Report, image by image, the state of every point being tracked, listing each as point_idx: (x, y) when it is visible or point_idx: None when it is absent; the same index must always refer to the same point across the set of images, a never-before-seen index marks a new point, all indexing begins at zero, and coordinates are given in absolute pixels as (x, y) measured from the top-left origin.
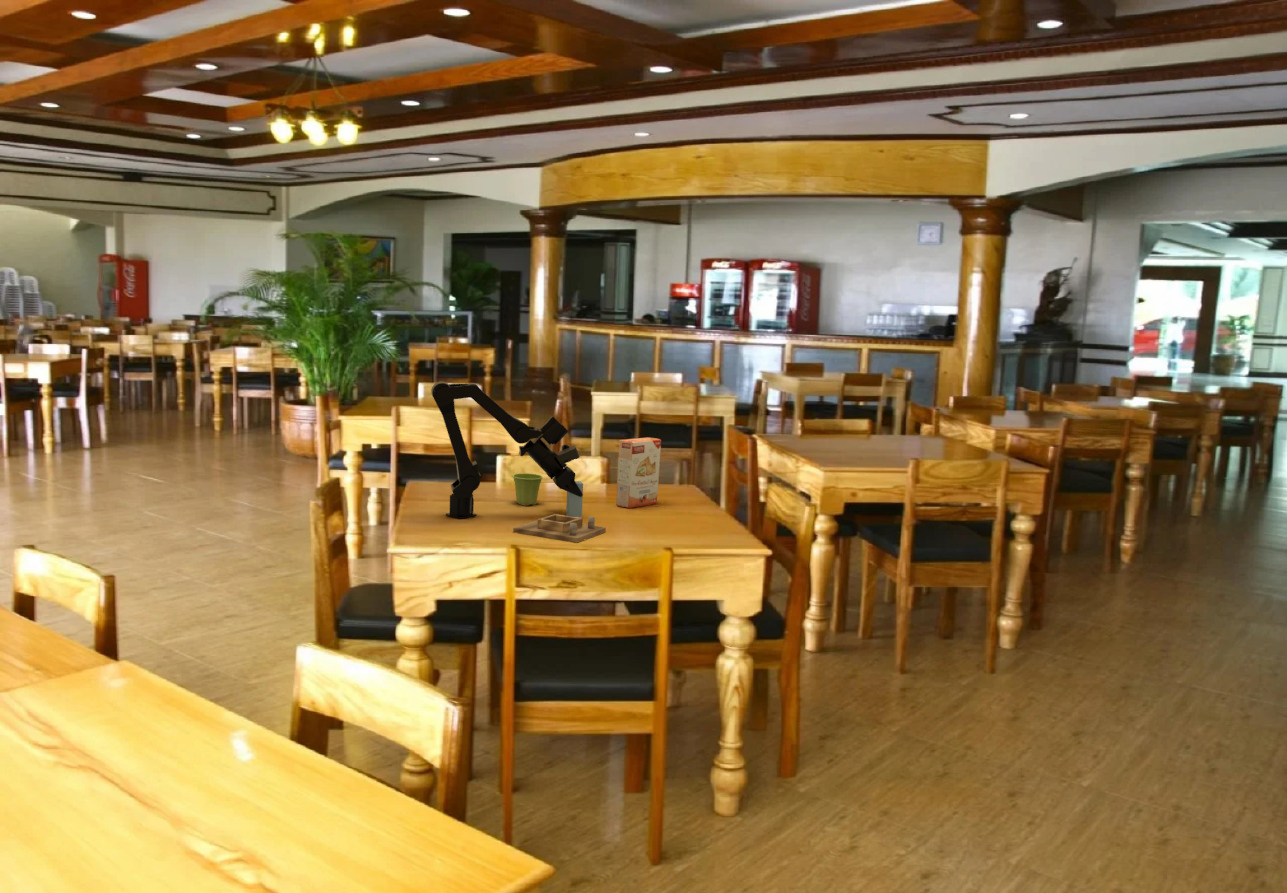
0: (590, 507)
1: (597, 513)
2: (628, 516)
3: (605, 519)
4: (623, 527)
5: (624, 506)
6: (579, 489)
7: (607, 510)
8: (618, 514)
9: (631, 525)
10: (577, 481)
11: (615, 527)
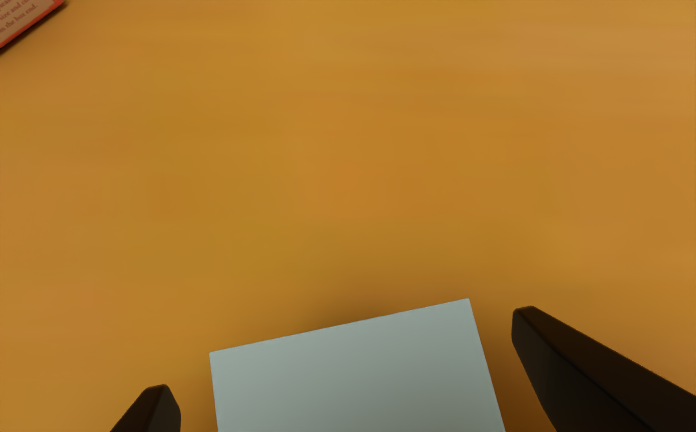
0: (15, 259)
1: (240, 206)
2: (310, 15)
3: (436, 153)
4: (646, 51)
5: (28, 23)
6: (628, 361)
7: (126, 137)
8: (256, 70)
9: (572, 7)
10: (252, 420)
11: (664, 95)
